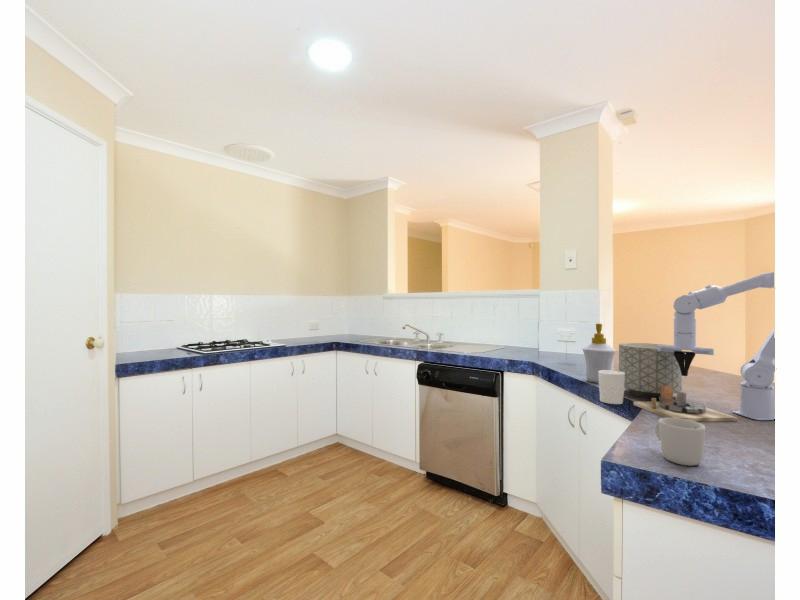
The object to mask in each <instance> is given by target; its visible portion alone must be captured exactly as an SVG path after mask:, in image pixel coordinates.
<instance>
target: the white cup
mask: <svg viewBox="0 0 800 600" xmlns="http://www.w3.org/2000/svg"><path fill="white" fill-rule="evenodd" d="M598 376H599V383H598V388H599V389H598V390H599V401H600V402H601V403H605V404H609V405H621V404H622V405H623V403H624V395H625V394H624V393H625V388H624V383H625V373H624V372H620V371H619V370H600V371H598Z"/></svg>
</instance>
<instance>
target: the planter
mask: <svg viewBox="0 0 800 600" xmlns="http://www.w3.org/2000/svg"><path fill="white" fill-rule="evenodd" d="M657 345H666V344H663V343H653V342H652V343H650V342H649V343H648V342H621V343H619V344H618V371H620V372H624V373H625V383H624V389H626V390H627V391H629V392H630V393H632V394H633V395H635V396H637V395H638V396H637V397H640V396H641V398H645V397H647V399H652V398H656V400H657V399H658V398H659V397H661V385H669V386H672V387H673V395H674V394H677V392H683V389H682V388H683V386H682V385H683V378H682V377H683V376H682V375H681V370H680V367H679V364H678V362H677V360H676V358H675V356H674V352H666V351H657ZM668 345H669V346H674V344H673V345H672V344H668ZM675 351H683V350H675ZM658 400H659V399H658Z"/></svg>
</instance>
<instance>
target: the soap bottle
mask: <svg viewBox="0 0 800 600" xmlns="http://www.w3.org/2000/svg"><path fill="white" fill-rule="evenodd" d="M595 330H596V333H594V334H593V337H591V343H590V344H588V345H586V346H584V347H583V348H581V349H582V351H583V354H584V358H585V360H584V361H585V365H586V380H587V381H588V382H590V383H593V382H597V383H596V384H599V376H598V371H600V370H612V368H613V362H614V358H615V355H616V352H617V350H616V349H614V348H613V347H611V346H610V345H608V344H607V338H606V337H605V336H604V333H602V330H603V323H596V324H595ZM612 371H613V370H612Z"/></svg>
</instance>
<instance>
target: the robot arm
mask: <svg viewBox="0 0 800 600" xmlns="http://www.w3.org/2000/svg"><path fill="white" fill-rule="evenodd" d="M757 288H762V289H773V288H775V287H774V271H771V272H765V273H760V274H758V275H755V276H751V277H749V278H746V279H743V280H740V281H738V282H735V283H732V284H729V285H725V286H720V285H712V286H711V285H710V284H709V285H705V287H704V288H702V289H700V290H697V291H693V292H692V291H689V292H687V294H684V295H683V294H682V295H681V296H678V297H677V298H675V300H674V302H673V308H674V313H673V316H674V318H673V345H674V346H669V345H670V344H665V345H657V351H666V352H674V356H675V358H676V360H677V362H678V364H679V367H680V370H681V375H682V377H687V376H688V375H689V369H690V368H691V364H692V362H693V361H694V358H695V357H696V355H705V356H706V355H708V356H714V355H715V349H714V348H712V347H711V348H710V347H699V346H697V342H696V341H697V339H696V338H697V329H696V328H697V327H696V325H697V320H696V317H695V316H696V312H695V311H696V310H697V309H698V310H703V309H706V308H710V307H713V306H716V305H721V304H722V303H725V301H726V300H727V298H728V297H730V296H734V295H737V294H742V293H745V292H747V291H751V290H754V289H757ZM675 350H682V351H675ZM739 371H740V375H741V376H742V378H743V381H741V382H740V385H739V387H740V388H739V389H740V390H739V393H740V394H739V396H740V397H739V398H740V399H739V400H740V401H739V403H740V405H739V410H732V413H733V414H736V415H740V416H743V417H746V418H749V419H753V420H755V421H775V420H774V387H775V386H774V385H773V382H774V380H775V371H776V370H775V338H774V327H772V330H771V331H770V332H769V335H768V336H767V337H766V339H765V341H764V342H763V344H762V345H761V347H760V349H758V351H757V352H756V353H755V354H754V355H753V356H752V357H751V359H750V360H749V361H747V362H746V363H744V364H742V366H741V367H740V370H739Z"/></svg>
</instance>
